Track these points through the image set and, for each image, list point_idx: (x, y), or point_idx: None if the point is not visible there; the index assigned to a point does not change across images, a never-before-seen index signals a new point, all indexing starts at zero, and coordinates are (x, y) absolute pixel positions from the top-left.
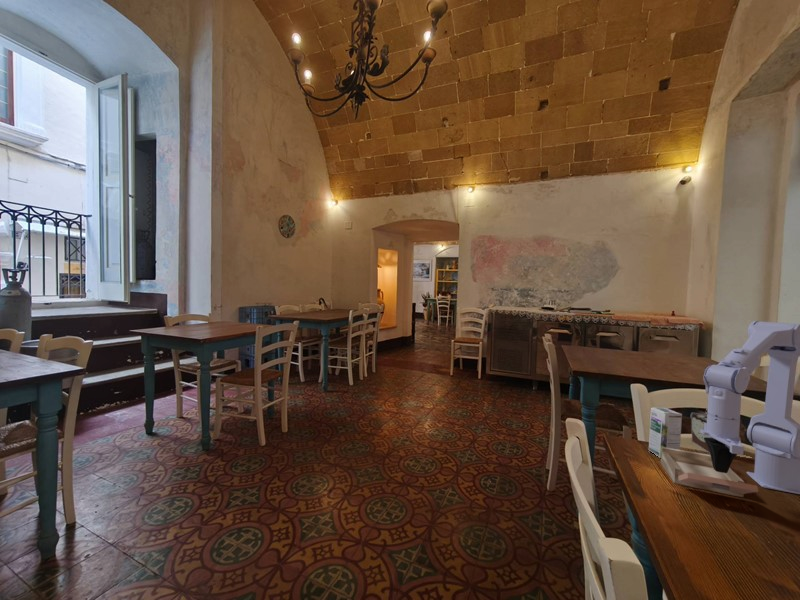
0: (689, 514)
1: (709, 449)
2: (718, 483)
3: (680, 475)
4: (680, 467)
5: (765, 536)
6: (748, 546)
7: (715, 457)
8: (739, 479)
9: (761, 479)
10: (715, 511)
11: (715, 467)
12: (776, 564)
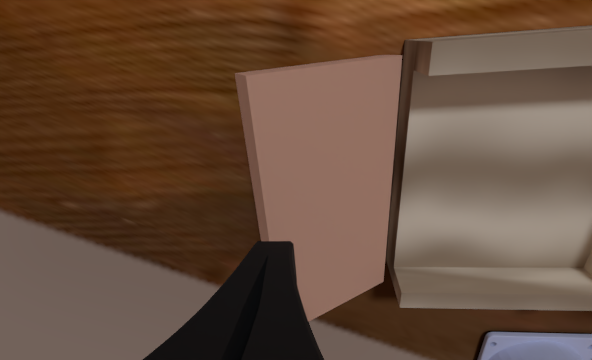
0: (121, 34)
1: (283, 345)
2: (257, 210)
3: (368, 59)
4: (557, 105)
5: (154, 225)
6: (54, 164)
7: (192, 317)
8: (416, 300)
9: (524, 352)
10: (219, 142)
11: (249, 254)
12: (20, 197)
